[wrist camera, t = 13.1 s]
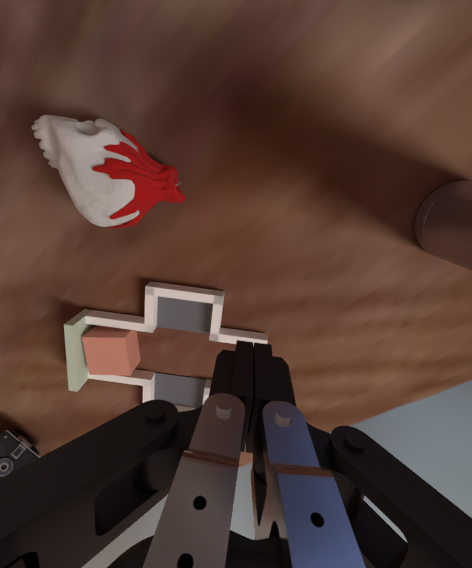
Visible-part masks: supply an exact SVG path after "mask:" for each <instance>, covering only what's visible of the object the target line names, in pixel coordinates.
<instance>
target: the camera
mask: <svg viewBox="0 0 472 568" xmlns="http://www.w3.org/2000/svg"><path fill="white" fill-rule="evenodd" d="M38 455H39V451H38V450H37V449H36V448H35V447H34V446H33V445H32V444H31V442H30V441H28V439H27V438H25V437H24V436H22V435H20V434H19V433H17V432H15V431H13V430H12V429H8V430H5V431H4V432H2V433H1V434H0V479H1V478H3V477H4V476H6V475H8V474H10V473H12V472H14V471H16V470H18V469H20V468H21V467H23V466H25V465H27V464H29V463H31V462H33V461H35V460H36V459H38V458H40V456H38Z"/></svg>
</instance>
